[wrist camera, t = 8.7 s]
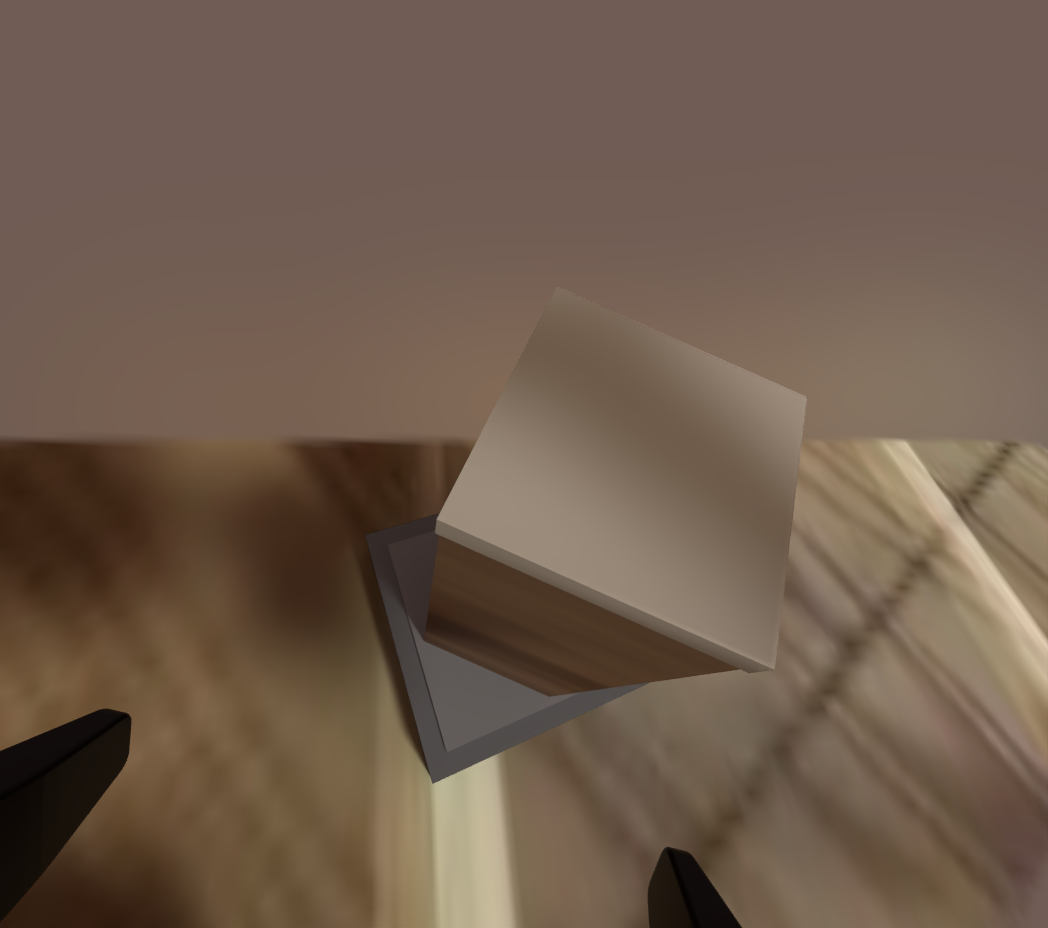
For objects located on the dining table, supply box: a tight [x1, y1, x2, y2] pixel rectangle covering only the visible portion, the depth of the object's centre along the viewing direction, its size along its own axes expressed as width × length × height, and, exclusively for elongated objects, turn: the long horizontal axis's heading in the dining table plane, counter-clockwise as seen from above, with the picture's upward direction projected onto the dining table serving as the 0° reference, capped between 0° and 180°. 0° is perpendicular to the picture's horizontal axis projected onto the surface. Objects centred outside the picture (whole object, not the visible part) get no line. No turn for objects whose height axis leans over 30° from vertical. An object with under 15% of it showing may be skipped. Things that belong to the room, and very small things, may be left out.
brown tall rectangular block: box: [424, 286, 807, 697], centre depth 14 cm, size 5×5×13 cm
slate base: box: [365, 514, 650, 784], centre depth 20 cm, size 9×9×2 cm
